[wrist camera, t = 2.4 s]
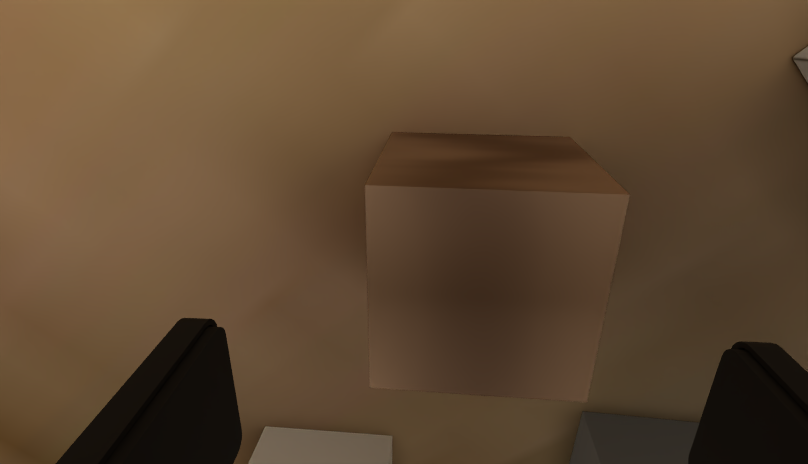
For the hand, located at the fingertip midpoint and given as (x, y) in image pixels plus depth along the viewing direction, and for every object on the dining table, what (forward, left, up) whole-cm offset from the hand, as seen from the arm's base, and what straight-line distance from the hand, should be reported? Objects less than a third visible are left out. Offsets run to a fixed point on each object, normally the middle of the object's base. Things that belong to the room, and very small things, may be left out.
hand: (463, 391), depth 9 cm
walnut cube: (-1, 0, -9) cm, 9 cm away
